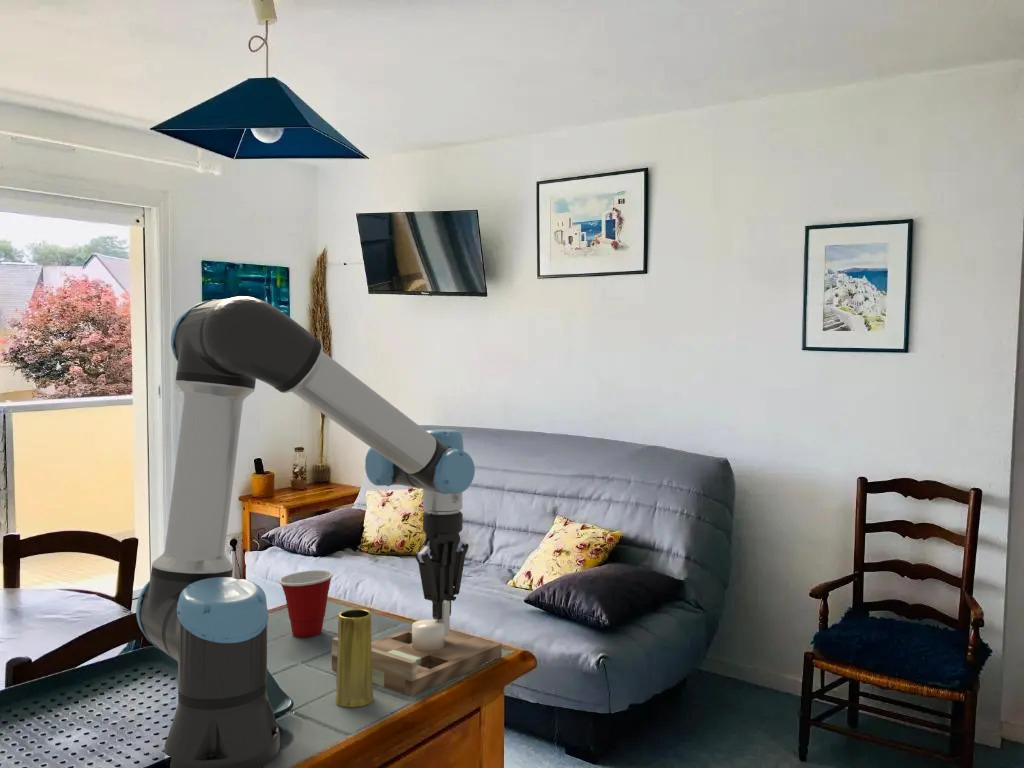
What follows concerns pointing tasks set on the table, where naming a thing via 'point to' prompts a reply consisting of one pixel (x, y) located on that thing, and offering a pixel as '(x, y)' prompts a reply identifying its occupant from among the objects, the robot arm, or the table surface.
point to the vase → (354, 659)
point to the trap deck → (424, 660)
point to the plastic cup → (306, 600)
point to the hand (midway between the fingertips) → (441, 634)
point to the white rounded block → (428, 635)
